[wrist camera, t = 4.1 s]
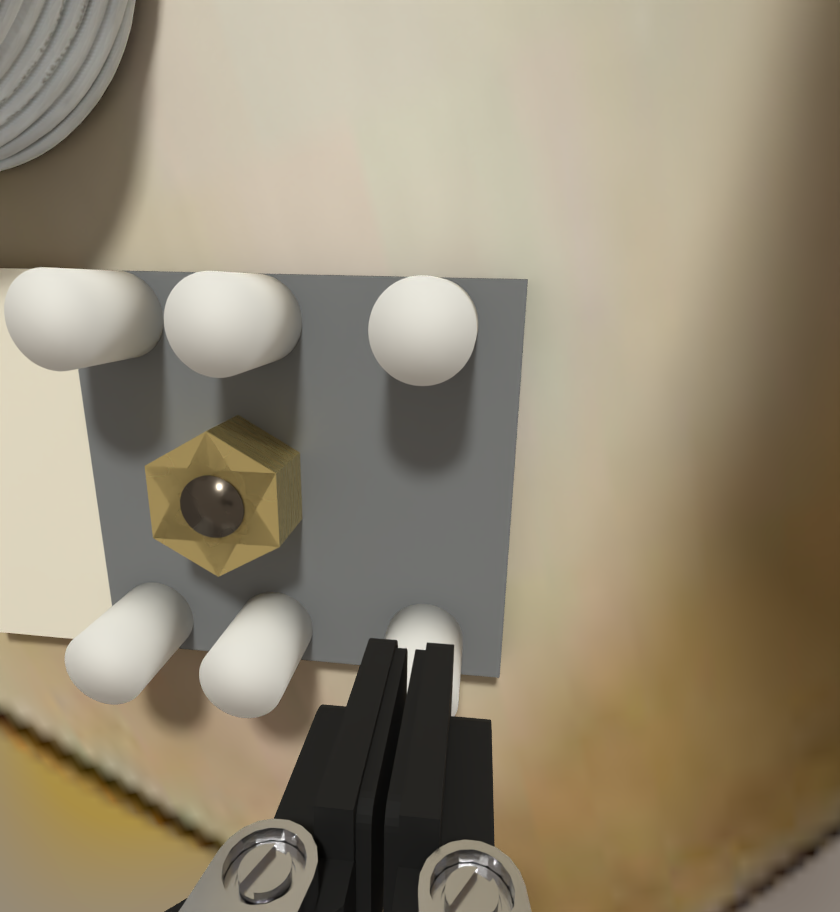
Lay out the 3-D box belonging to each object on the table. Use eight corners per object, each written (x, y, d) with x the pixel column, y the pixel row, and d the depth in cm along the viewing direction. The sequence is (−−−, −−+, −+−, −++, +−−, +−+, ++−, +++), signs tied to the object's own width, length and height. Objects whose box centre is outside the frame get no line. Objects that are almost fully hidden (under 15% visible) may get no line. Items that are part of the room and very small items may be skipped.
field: (525, 279, 20) (536, 277, 15) (499, 661, 24) (501, 744, 20) (-67, 267, 22) (-202, 262, 18) (5, 618, 26) (-91, 683, 22)
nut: (298, 417, 21) (273, 435, 18) (303, 550, 22) (280, 582, 20) (179, 411, 21) (138, 428, 19) (191, 542, 23) (155, 573, 20)
